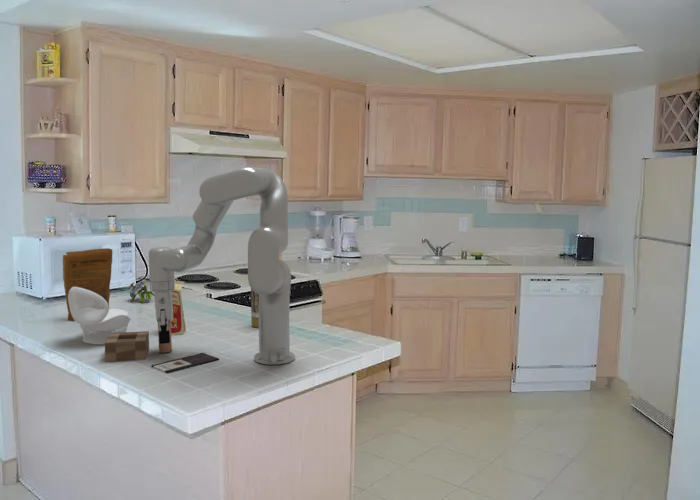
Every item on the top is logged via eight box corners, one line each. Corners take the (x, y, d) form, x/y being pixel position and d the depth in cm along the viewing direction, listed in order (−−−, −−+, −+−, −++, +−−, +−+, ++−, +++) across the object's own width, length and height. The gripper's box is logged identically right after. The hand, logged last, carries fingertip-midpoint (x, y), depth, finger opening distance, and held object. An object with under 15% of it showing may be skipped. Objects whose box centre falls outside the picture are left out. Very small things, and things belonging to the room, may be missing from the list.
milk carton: (160, 335, 218) (158, 280, 216) (160, 329, 227) (159, 276, 225) (186, 334, 221) (184, 279, 218) (186, 328, 229) (184, 275, 227)
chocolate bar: (219, 358, 190) (167, 371, 177) (219, 361, 190) (167, 374, 177) (202, 352, 196) (151, 365, 183) (202, 355, 196) (151, 368, 183)
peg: (171, 351, 197) (170, 315, 195) (158, 352, 196) (157, 316, 194) (172, 348, 201) (170, 312, 199) (159, 349, 200) (157, 313, 198)
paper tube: (265, 328, 229) (265, 262, 226) (248, 327, 231) (247, 262, 228) (271, 324, 236) (271, 260, 233) (255, 323, 237) (254, 259, 234)
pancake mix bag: (117, 317, 246) (114, 248, 243) (66, 323, 236) (62, 251, 232) (113, 314, 252) (110, 246, 248) (63, 320, 241) (59, 249, 238)
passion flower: (133, 312, 278) (125, 290, 282) (157, 306, 283) (148, 283, 287) (134, 303, 269) (126, 279, 273) (159, 296, 274) (150, 273, 278)
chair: (143, 338, 215) (141, 282, 213) (92, 351, 199) (89, 291, 196) (109, 330, 226) (107, 276, 224) (58, 341, 210) (55, 284, 207)
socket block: (146, 359, 190) (145, 340, 190) (105, 361, 187) (104, 342, 187) (149, 348, 202) (148, 331, 201) (110, 351, 199) (109, 333, 198)
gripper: (173, 289, 188) (176, 347, 191) (175, 280, 205) (177, 334, 207) (148, 291, 187) (151, 349, 189) (152, 282, 203) (154, 335, 205)
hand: (165, 340), depth 198 cm, fingers closed on peg, 4 cm apart
